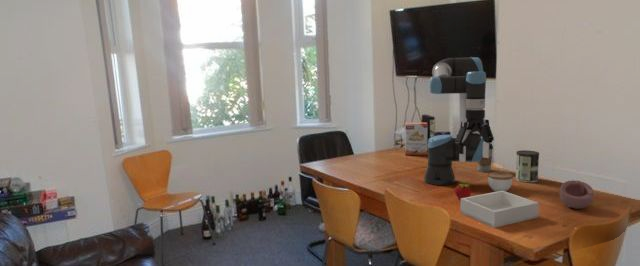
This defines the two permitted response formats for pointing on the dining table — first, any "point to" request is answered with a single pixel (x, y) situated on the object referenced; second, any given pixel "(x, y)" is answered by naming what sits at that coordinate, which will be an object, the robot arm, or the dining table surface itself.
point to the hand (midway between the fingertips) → (474, 159)
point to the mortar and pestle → (576, 194)
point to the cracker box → (416, 138)
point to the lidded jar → (500, 181)
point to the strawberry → (462, 191)
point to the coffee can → (527, 166)
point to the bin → (499, 208)
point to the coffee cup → (486, 162)
